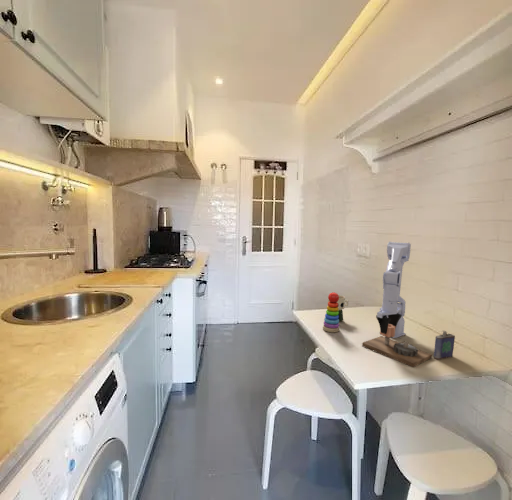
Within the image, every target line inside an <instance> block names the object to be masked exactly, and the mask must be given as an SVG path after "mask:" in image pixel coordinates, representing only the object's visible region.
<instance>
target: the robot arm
mask: <svg viewBox="0 0 512 500" xmlns="http://www.w3.org/2000/svg"><path fill="white" fill-rule="evenodd" d="M411 245H412V243H410V242H400V241H399V242H397V241H388V242H387V245H386V253H387V254H386V255H387V259H388V260H389V261H388V262H387V265H386V269H385V271H384V272H383V275H382V290H383V294H382V303H381V307H379V311H377V312H376V316H375V318H376V320H377V321H378V324H379V328H380V330H381V333H384V334H386V333H387V329H388V324H392V325H393V326H396V327H395V336H394V337H392V338H393V339H396V338H399V337H402V336H404V335H406V334H407V333H405V322H406V321H405V318H404V317H405V313H406V300H405V299H404V298H403V297H402V296H401V285H402V277H403V269H404V267H403V266H404V264H405V263H406V262H408V261H409V260H410V255H411V250H412V249H411ZM380 330H379V331H380Z"/></svg>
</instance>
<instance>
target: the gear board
mask: <svg viewBox="0 0 512 500" xmlns="http://www.w3.org/2000/svg"><path fill="white" fill-rule="evenodd" d="M361 346H362V347H364V348H366V347H367V349H368V348H369V350H371V351H373V350H374V351H373V352H375V353H378V354H380V355H383V356H385V357H388V358H390V359H392V360H394V361H397V362H400V363H402V364H404V365H408V366H409V367H412V368H414V367H417V366H418V365H421V364H423V363H425V362H426V361H428V360H431V359H432V358H433V354H432V353H428V352H426V351H424V350H421V349H419V348H417V347H416V346H414V345H413V344H409V342H408V341H403V343H402V342H399V341H397V340H394V339H391V337H387V336H383V335H380V336H377V337H375V338H371V339H369V340H366V341H363V342H362V343H361Z"/></svg>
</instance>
